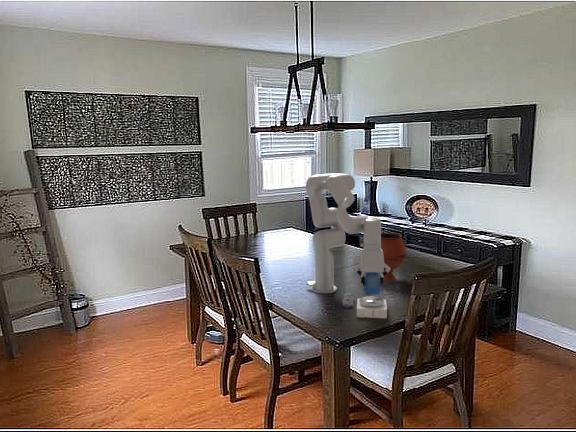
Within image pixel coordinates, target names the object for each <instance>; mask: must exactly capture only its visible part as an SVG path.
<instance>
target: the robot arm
mask: <svg viewBox="0 0 576 432" xmlns="http://www.w3.org/2000/svg"><path fill="white" fill-rule="evenodd" d="M355 187H356V181H355V178H354V177H353V176H352V175H351V174H349V173H322V174H321V173H320V174H319V173H318V174H314V175H311V176H309V177H308V178H307V180H306V183H305V192H306V194H307V198H308V200H309V205H310V212H311V218H312V222H313V223H312V224H313V225H314V227H315V228H318V229H321V228H327V229H322V230H318V231H316V232H315V233H314V234H313V236H312V245H313V251H314V269H315V270H314V271H315V273H314V279H315V280H313V281H306V286H308V287H312V288H311V289H312V292H314V293H317V294H320V295H321V294H324V295H326V294H332V293H335V292H337V289H338V287H337V286H335V284H334V283H335V282H334V280H335V279H334V276H335V275H334V274H335V273H334V272H335V270H334V268H335V267H334V255H333V252H332V251H331V249H332V248H338V247H341V246H343V245H344V244H345V243H346V234H348V235H354V234H355V235H356V234H363V243H360V247H362V249H361V253H360V262H359V263H358V264H356V265H355V266H354V267H353V270H354V271H356V273H357V275H359V276H360V283H361V284H362V286H363V287H364V276H365V274H366V273H367V272H370V273H377V274H378V273H379V277H380V280H381V287H382V285H383V284H384V281H383V277H384V276H385V275H386V274H387V273H388V272H389V271H390V270H391V269H390V267H389V266H387V265H386V264H385V263H384V256H383V250H382V249H381V233H382V221H381V219H379V218H373V217H372V216H370V215H360V216H352V217H351V216H350V215H349V213H348V212H347V208H349V207H350V206H351V205H352V204H353V203H354V201H355V196H354V194H353V192H352V191H353V190H354V189H355ZM323 192H329V193H330V195H331V196H332V198H333V199H334V201H335V202H336V204H337V207H328V201H327V198H326V197H325V195H324V194H323ZM329 227H330V228H329ZM328 228H329V229H328ZM384 267H385V268H386V270H385V271H384ZM359 268H360V269H359ZM383 271H384V272H383Z"/></svg>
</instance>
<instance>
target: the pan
mask: <svg viewBox="0 0 576 432" xmlns="http://www.w3.org/2000/svg"><path fill="white" fill-rule="evenodd" d="M383 299H384V298H382V297H379V296H376V295H375V296H374V295H368V296H367V295H366V296H362V297H360V300H359V302H360V303H361V304H362V305H365V306H371V307H375V306H381V305H383V304H384V300H383Z"/></svg>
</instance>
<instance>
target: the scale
mask: <svg viewBox="0 0 576 432" xmlns="http://www.w3.org/2000/svg"><path fill="white" fill-rule="evenodd" d="M360 298H361V297H360ZM360 298H357V303H356V318H365V317H366V319H368V318H370V319H388V318H387V317H388V308H387V299H386V298H385V299H384V298H382V299H383V300H384V304H383V305H381V306H375V307H371V306H365V305H362V304H361V303H360V302H359V300H360Z"/></svg>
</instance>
